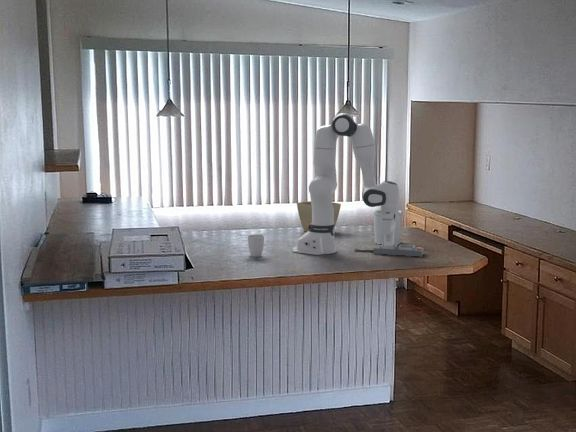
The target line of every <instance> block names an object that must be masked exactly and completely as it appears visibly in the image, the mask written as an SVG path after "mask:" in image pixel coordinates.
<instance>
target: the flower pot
mask: <svg viewBox="0 0 576 432" xmlns="http://www.w3.org/2000/svg"><path fill="white" fill-rule="evenodd" d="M332 204H333V208H334V227H335V228H336V224H337V222H338V218H339V215H340V210H341V205H342V204H341V203H338V202H333V201H332ZM296 207H297V213H298V217H299V220H300V221H299V222H300V225H301V227H302V229H303V231H304V232H308V231H309V230H308V225H309V224H310V223H312V204H311V200H310V201H300V202H296Z"/></svg>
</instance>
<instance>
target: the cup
mask: <svg viewBox="0 0 576 432" xmlns="http://www.w3.org/2000/svg"><path fill="white" fill-rule="evenodd" d="M264 243H265V235H263V234H249V235H247V245H248V250H249V251H248V252H249V254H250V257H253V258H260V257H262V254H263V250H264Z"/></svg>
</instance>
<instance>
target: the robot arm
mask: <svg viewBox="0 0 576 432" xmlns="http://www.w3.org/2000/svg"><path fill="white" fill-rule="evenodd" d="M315 132H316V133H315V138H314V147H313V167H314V175H315V176H314V177H315V178H313V179H312V180H311V181H310V183H309V185H308V193H309V197H310V201H311V204H312V223H310V224H309V225H308V230H309V231H305V232H304V233H303V234H302V235H300V237H298V238H297V243H296V246H294V247H293V248H292V250H291V251H292V253H296V254H297V253H299V254H307V255H314V256H315V255H317V256H321V255H330V254H335V253H336V252H337V249H336V243H335V233H336V231H335V230H336V229H335V228H336V226H335V227H334V208H333V204H332V202H333V198H332V195H333V194H334V193H335V192H336V190H337V188H338V181H337V180H338V179H337V169H336V166H337V165H336V164H337V162H336V159H337V141H338V138H339V137H349V138H350V140H351V145H352V152H353V155H354V158H355V160H356V162H357V164H358V165H359V167H360V171H361V175H362V181H363V189H362V192H361V196H362V200H363V203H364V205H366V206H367V207H369V208H375V207H380V209H381V219H382V233H383V234H384V235H386V242H389V241H390V234H391V232H392V231H393V230H394V229H395V226H396V218H397V217H398V214H399V209H400V206H399V201H400V189H399V185H398V184H397V183H396V182H394V181H390V180H384V181H382V182H381V183H379V184H377V179H376V174H375V166H374V165H375V161H376V155H377V154H376V142H375V140H374V139H375V138H374V135H373V132H372V129H371V127H370V125H368V124H366V123H356V122H355V120H354V118H353V115H351V114H349V112H339V113H337V114H336V115H334V117H333V119H332V120H331V123H330V124H329V125H321V126H319V127H317V130H316V131H315Z"/></svg>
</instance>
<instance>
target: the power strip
mask: <svg viewBox="0 0 576 432" xmlns="http://www.w3.org/2000/svg"><path fill="white" fill-rule="evenodd" d="M398 245H399V246H398ZM424 250H425V249H424V247H422V246H421V247H419V246H417V247H416V245H414V244H403V243H402V244H400V243H399V244H394V246H393V247H389V246H384V243H382V245H379V244H376V245H375V246H374V247H373V249H365V248H364V249H362V248H355V249H354V251H355V252H363V253H364V252H366V253H373V255H381V254H387V256H396V255H406V256H405V257H411V256H420V257H419V258H422V257H423V256H422V255H424V252H425V251H424Z"/></svg>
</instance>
